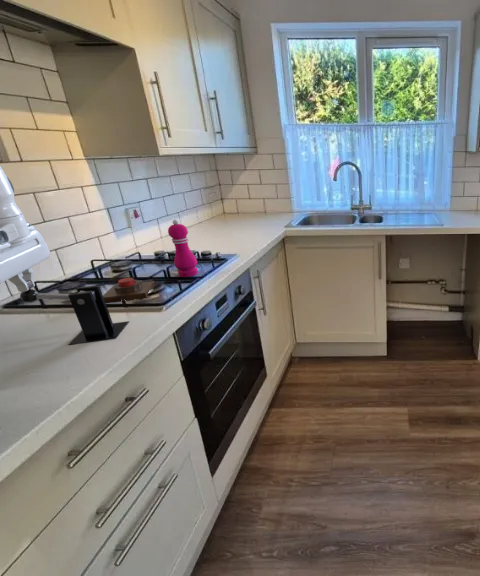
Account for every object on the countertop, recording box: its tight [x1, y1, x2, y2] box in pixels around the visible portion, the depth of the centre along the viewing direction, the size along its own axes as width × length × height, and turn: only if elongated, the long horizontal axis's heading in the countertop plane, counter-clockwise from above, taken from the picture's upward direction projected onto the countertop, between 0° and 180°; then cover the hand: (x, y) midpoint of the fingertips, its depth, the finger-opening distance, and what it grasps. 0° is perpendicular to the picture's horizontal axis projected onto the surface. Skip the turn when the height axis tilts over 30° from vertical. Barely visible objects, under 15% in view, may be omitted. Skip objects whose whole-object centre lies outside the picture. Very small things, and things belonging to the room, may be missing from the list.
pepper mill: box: [167, 219, 199, 278], centre depth 127 cm, size 7×7×20 cm
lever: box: [19, 288, 96, 304], centre depth 85 cm, size 14×3×3 cm, turn 106°
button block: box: [102, 279, 157, 304], centre depth 114 cm, size 12×10×4 cm
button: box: [117, 277, 135, 287], centre depth 113 cm, size 4×4×2 cm
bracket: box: [67, 284, 130, 346], centre depth 89 cm, size 10×9×13 cm
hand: (27, 289), depth 83 cm, fingers closed, pressing on lever
